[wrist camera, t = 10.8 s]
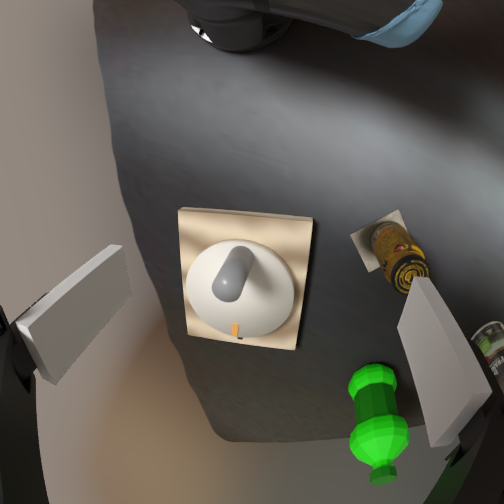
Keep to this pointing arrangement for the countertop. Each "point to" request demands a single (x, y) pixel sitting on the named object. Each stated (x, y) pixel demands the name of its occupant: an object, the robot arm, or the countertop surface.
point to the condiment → (391, 251)
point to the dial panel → (258, 230)
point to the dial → (240, 288)
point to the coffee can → (492, 347)
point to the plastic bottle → (377, 421)
